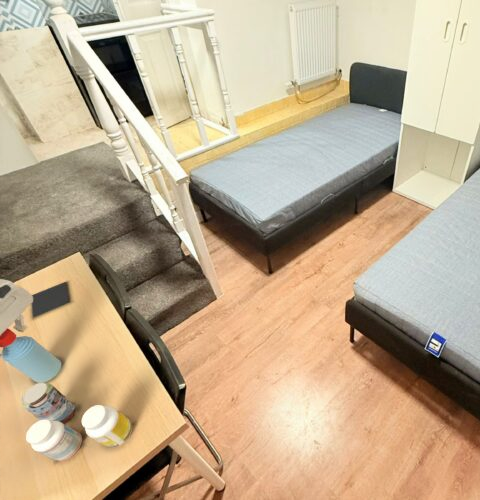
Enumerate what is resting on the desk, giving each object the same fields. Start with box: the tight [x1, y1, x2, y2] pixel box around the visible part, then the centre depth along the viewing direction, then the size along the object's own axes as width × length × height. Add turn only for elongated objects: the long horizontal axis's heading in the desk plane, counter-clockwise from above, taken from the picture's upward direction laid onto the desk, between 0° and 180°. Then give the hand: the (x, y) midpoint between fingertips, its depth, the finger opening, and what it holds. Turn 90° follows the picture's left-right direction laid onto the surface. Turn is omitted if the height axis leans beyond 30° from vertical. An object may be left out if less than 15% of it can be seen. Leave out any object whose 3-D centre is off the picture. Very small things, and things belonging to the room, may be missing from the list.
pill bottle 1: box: [25, 419, 83, 462], centre depth 74 cm, size 6×6×11 cm
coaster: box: [31, 281, 70, 318], centre depth 109 cm, size 10×10×1 cm
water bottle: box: [1, 335, 62, 384], centre depth 85 cm, size 7×7×18 cm
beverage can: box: [21, 382, 77, 425], centre depth 78 cm, size 6×7×12 cm
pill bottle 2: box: [81, 404, 133, 449], centre depth 75 cm, size 6×6×12 cm
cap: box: [0, 327, 17, 348], centre depth 79 cm, size 4×4×2 cm
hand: (10, 343), depth 81 cm, fingers open, 6 cm apart
